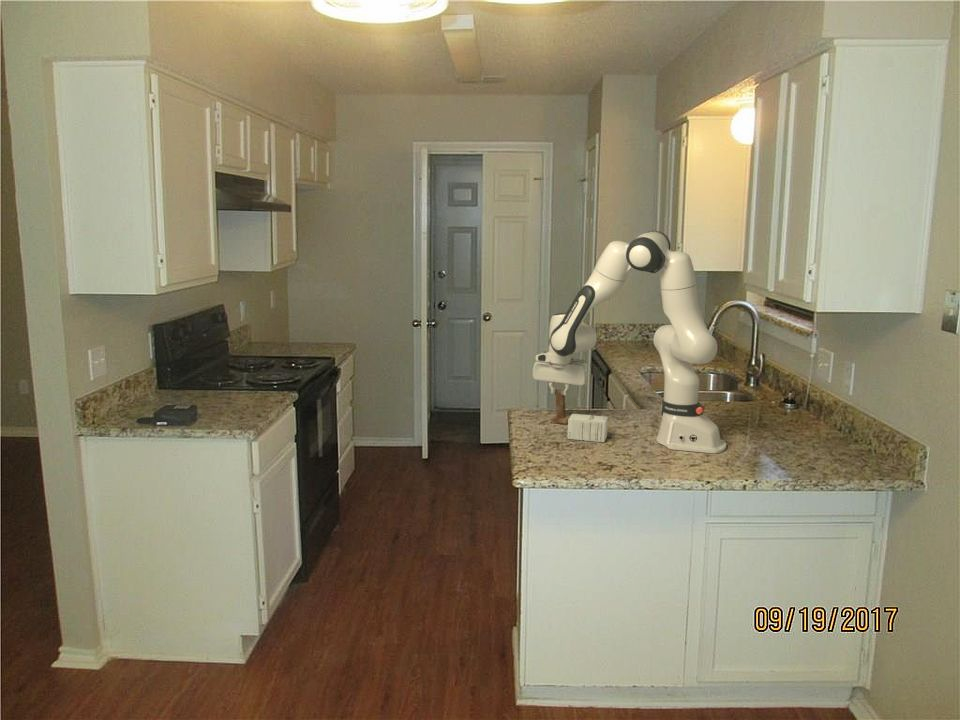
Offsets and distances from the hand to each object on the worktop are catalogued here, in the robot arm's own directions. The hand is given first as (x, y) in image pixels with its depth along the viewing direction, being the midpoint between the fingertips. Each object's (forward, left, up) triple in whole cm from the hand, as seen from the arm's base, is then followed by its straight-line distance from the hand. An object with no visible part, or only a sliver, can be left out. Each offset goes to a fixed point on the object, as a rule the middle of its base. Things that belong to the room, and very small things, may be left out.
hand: (559, 394), depth 272 cm
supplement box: (-10, +15, -7) cm, 19 cm away
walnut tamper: (-1, -1, -10) cm, 10 cm away
